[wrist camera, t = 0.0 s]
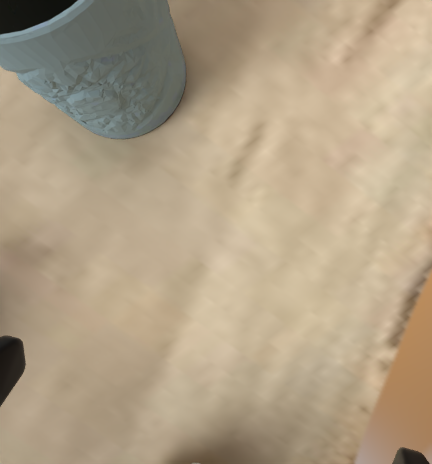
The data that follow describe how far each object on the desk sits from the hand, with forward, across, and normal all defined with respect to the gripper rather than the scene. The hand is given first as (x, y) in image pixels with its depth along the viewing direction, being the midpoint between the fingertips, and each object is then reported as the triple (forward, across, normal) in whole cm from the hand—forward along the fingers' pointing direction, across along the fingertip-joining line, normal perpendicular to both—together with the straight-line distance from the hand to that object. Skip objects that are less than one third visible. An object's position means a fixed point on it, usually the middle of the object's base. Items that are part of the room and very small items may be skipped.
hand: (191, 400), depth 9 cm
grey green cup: (+20, +12, -5) cm, 24 cm away
